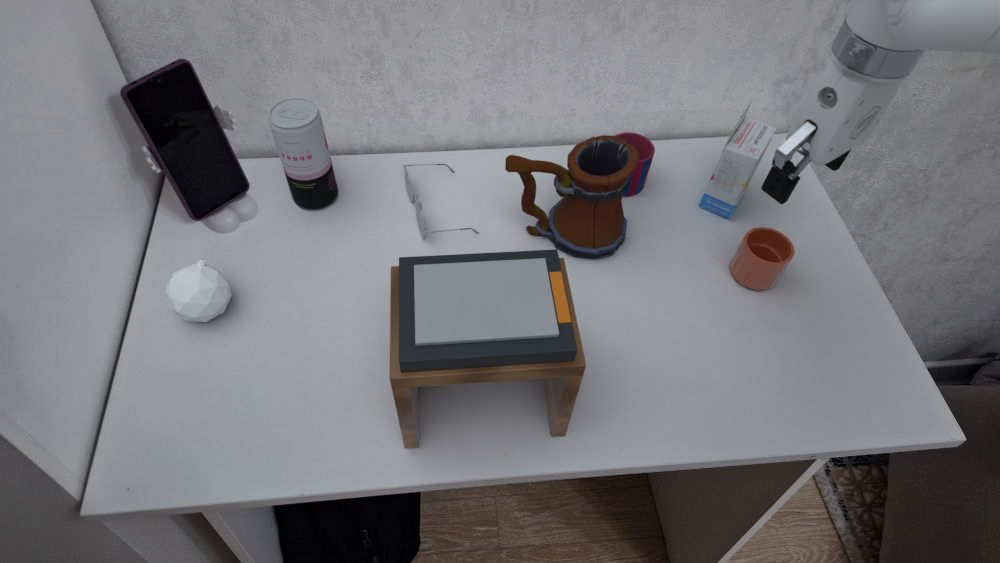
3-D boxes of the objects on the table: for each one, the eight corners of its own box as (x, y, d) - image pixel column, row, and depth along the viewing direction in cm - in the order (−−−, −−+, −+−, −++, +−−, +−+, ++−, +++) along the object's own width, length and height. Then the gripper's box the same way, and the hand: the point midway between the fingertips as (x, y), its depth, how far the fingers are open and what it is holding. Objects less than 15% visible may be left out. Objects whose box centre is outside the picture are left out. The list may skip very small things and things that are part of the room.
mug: (504, 266, 84) (510, 186, 72) (497, 205, 91) (501, 123, 79) (633, 260, 86) (659, 181, 74) (616, 201, 93) (638, 120, 81)
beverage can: (303, 177, 93) (279, 92, 81) (345, 184, 93) (326, 100, 81) (286, 207, 89) (257, 123, 77) (329, 215, 89) (307, 132, 77)
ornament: (165, 307, 78) (170, 247, 76) (229, 311, 81) (235, 254, 79) (159, 330, 72) (164, 265, 70) (228, 334, 75) (235, 272, 73)
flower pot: (785, 278, 85) (804, 250, 80) (755, 299, 82) (772, 271, 78) (749, 249, 88) (765, 220, 83) (719, 268, 86) (733, 240, 81)
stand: (548, 338, 77) (563, 257, 65) (565, 436, 70) (586, 365, 57) (404, 347, 76) (390, 266, 63) (404, 448, 68) (389, 378, 55)
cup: (648, 196, 94) (659, 162, 88) (583, 197, 93) (590, 163, 88) (639, 166, 98) (649, 131, 92) (577, 167, 97) (583, 132, 92)
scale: (555, 261, 64) (557, 245, 62) (574, 361, 57) (578, 347, 55) (400, 269, 63) (398, 253, 61) (400, 373, 56) (398, 359, 54)
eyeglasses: (402, 180, 94) (402, 159, 91) (453, 173, 96) (455, 153, 93) (424, 247, 86) (424, 227, 83) (479, 238, 88) (482, 219, 85)
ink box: (729, 221, 91) (767, 142, 79) (697, 207, 93) (730, 128, 81) (748, 188, 96) (787, 109, 84) (717, 175, 97) (751, 95, 85)
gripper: (856, 98, 53) (777, 230, 67) (962, 38, 60) (870, 169, 73) (787, 55, 57) (725, 189, 70) (894, 3, 63) (818, 135, 77)
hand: (799, 179), depth 72 cm, fingers open, 9 cm apart
